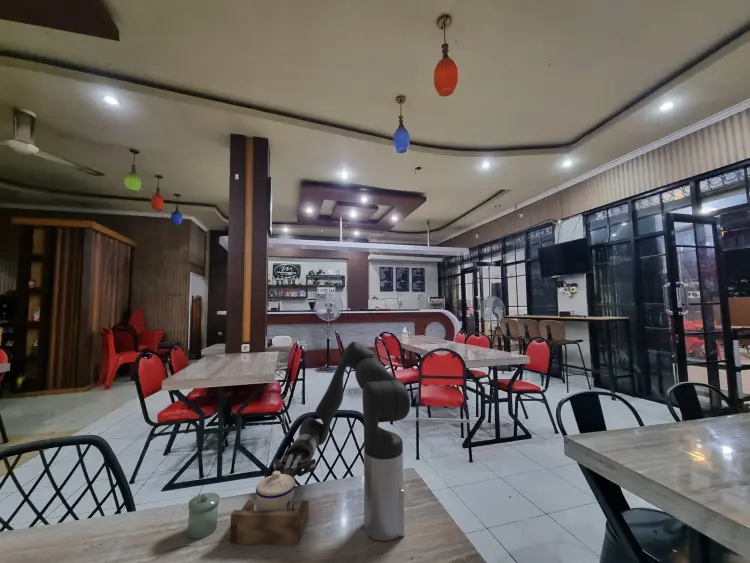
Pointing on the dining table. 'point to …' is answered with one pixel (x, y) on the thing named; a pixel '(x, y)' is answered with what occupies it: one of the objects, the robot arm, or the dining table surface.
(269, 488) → the teacup with lid
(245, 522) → the walnut cup holder
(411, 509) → the dining table surface
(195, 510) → the green ceramic sugar pot
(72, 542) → the dining table surface
